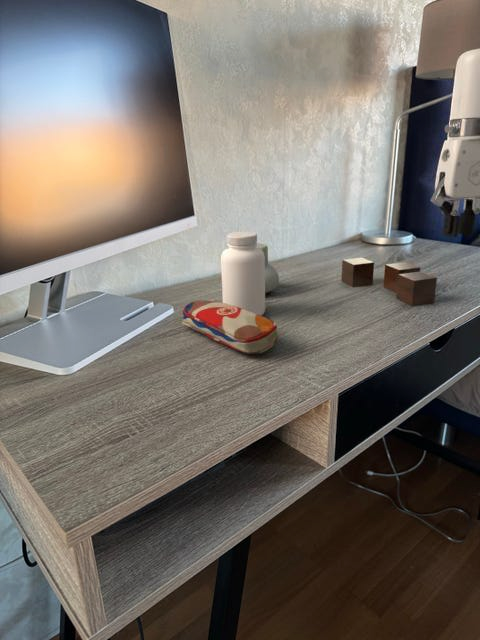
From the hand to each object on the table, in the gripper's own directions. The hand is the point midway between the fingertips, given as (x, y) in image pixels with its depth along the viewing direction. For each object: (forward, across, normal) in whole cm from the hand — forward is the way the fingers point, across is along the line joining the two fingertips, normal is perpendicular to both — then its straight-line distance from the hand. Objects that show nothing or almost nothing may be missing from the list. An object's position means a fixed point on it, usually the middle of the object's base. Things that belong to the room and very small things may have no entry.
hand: (457, 234), depth 84 cm
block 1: (+12, -12, +15) cm, 23 cm away
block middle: (+12, -6, +8) cm, 16 cm away
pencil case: (+12, -47, -4) cm, 49 cm away
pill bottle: (+12, -41, +6) cm, 43 cm away
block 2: (+12, -8, 0) cm, 15 cm away
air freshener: (+12, -35, +18) cm, 41 cm away
